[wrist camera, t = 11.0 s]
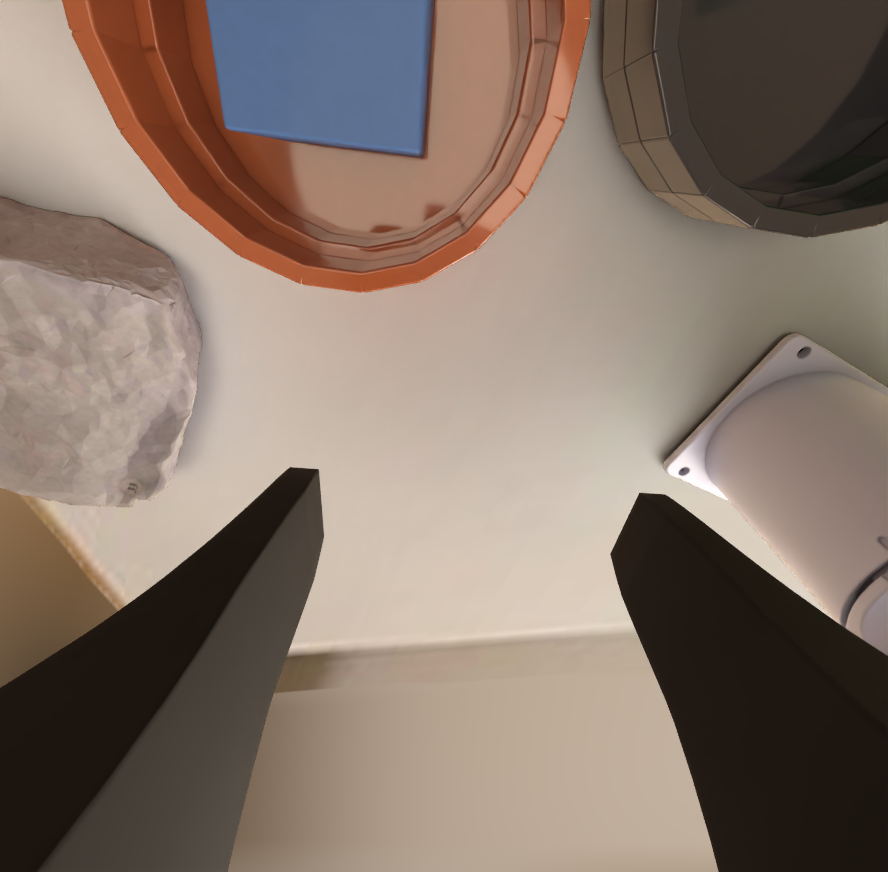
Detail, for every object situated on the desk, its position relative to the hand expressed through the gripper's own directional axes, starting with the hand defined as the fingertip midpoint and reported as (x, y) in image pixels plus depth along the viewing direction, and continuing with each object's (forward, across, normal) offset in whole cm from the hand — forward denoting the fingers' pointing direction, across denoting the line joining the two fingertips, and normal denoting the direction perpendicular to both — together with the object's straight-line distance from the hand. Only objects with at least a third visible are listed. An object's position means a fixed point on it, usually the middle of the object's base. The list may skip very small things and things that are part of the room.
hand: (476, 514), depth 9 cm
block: (+9, +4, -9) cm, 14 cm away
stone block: (+10, +16, +2) cm, 19 cm away
